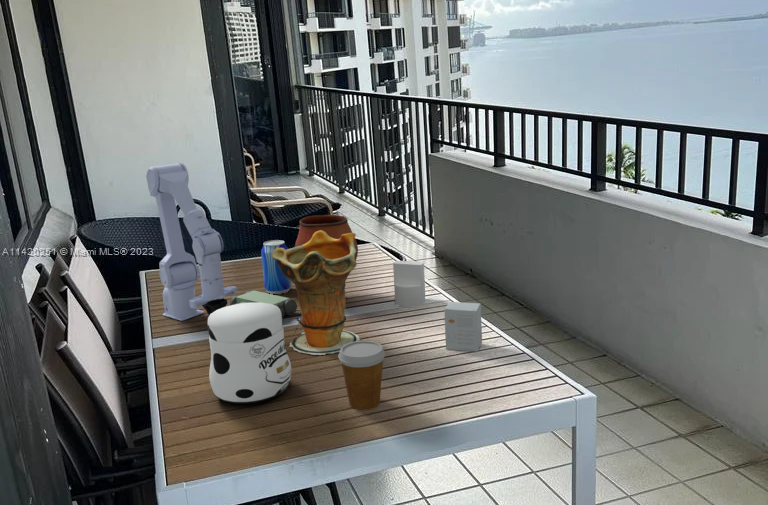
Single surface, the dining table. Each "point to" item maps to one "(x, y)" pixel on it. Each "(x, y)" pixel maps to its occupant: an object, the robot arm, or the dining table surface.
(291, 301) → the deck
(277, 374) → the milk container
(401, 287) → the cylinder with rectangular tab
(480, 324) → the small box
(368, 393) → the disposable coffee cup
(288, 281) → the beer can
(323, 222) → the terracotta pot
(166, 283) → the robot arm
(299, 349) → the decorative vase
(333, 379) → the dining table surface
